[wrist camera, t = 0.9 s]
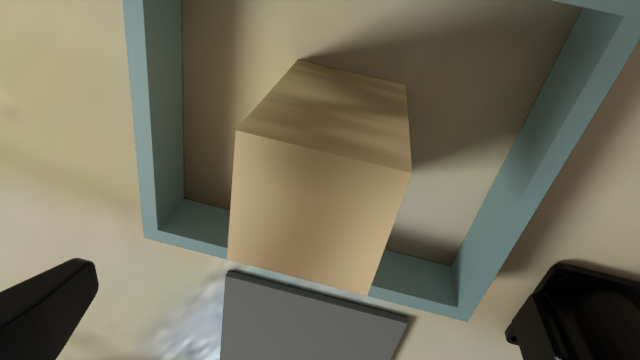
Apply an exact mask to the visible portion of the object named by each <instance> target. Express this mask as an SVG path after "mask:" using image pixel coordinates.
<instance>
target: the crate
mask: <svg viewBox="0 0 640 360" xmlns="http://www.w3.org/2000/svg"><path fill="white" fill-rule="evenodd" d="M552 1H557V2H561V3H566V4H571V5H575V6H580V7H583V9H582V11H581V13H580V15H579V17H578V18H577V20H576V22H575V24H574V26H573V28H572V30H571V32H570V34H569V36H568V38H567V40H566V42H565V44H564V46H563V48H562V50H561V52H560V54H559V56H558V58H557V60H556V62H555V63H554V65H553V67H552V69H551V71H550V73H549V75H548V77H547V79H546V81H545V83H544V85H543V87H542V89H541V91H540V93H539V95H538V97H537V99H536V101H535V103H534V105H533V107H532V108H531V110H530V112H529V114H528V116H527V118H526V120H525V122H524V124H523V126H522V128H521V130H520V132H519V134H518V136H517V138H516V140H515V142H514V144H513V146H512V148H511V150H510V152H509V153H508V155H507V157H506V159H505V161H504V163H503V165H502V167H501V169H500V171H499V173H498V175H497V177H496V179H495V181H494V183H493V185H492V187H491V189H490V191H489V193H488V195H487V197H486V198H485V200H484V202H483V204H482V206H481V208H480V210H479V212H478V214H477V216H476V218H475V220H474V222H473V224H472V226H471V228H470V230H469V232H468V234H467V236H466V238H465V240H464V242H463V243H462V245H461V247H460V249H459V251H458V253H457V255H456V257H455V259H454V261H453V263H452V265H451V266H448V265H444V264H440V263H436V262H432V261H428V260H424V259H420V258H416V257H412V256H408V255H404V254H400V253H396V252H392V251H388V250H385V249H384V252H383V254H382V257H381V260H380V263H379V265H378V268H377V271H376V273H375V276H374V279H373V282H372V284H371V287H370V290H369V293H368V295H367V296H370V297H374V298H378V299H382V300H385V301H389V302H393V303H397V304H401V305H405V306H408V307H412V308H416V309H420V310H424V311H428V312H431V313H435V314H439V315H443V316H447V317H451V318H455V319H458V320H462V321H466V322H468V320H469V319H470V317H471V315H472V314H473V312H474V310H475V309H476V307H477V305H478V304H479V302H480V301H481V299H482V297H483V296H484V294H485V292H486V291H487V289H488V287H489V286H490V284H491V283H492V281H493V279H494V278H495V276H496V274H497V273H498V271H499V269H500V268H501V266H502V265H503V263H504V261H505V260H506V258H507V256H508V255H509V253H510V251H511V250H512V248H513V247H514V245H515V243H516V242H517V240H518V238H519V237H520V235H521V233H522V232H523V230H524V229H525V227H526V225H527V224H528V222H529V220H530V219H531V217H532V215H533V214H534V212H535V211H536V209H537V207H538V206H539V204H540V202H541V201H542V199H543V197H544V196H545V194H546V193H547V191H548V189H549V188H550V186H551V184H552V183H553V181H554V179H555V178H556V176H557V175H558V173H559V171H560V170H561V168H562V166H563V165H564V163H565V161H566V160H567V158H568V157H569V155H570V153H571V152H572V150H573V148H574V147H575V145H576V143H577V142H578V140H579V139H580V137H581V135H582V134H583V132H584V130H585V129H586V127H587V125H588V124H589V122H590V121H591V119H592V117H593V116H594V114H595V112H596V111H597V109H598V107H599V106H600V104H601V103H602V101H603V99H604V98H605V96H606V94H607V93H608V91H609V89H610V88H611V86H612V85H613V83H614V81H615V80H616V78H617V76H618V75H619V73H620V71H621V70H622V68H623V67H624V65H625V63H626V62H627V60H628V58H629V57H630V55H631V53H632V52H633V50H634V49H635V47H636V45H637V44H638V42H639V40H640V0H552ZM123 10H124V21H125V32H126V43H127V54H128V66H129V77H130V88H131V99H132V110H133V121H134V132H135V143H136V154H137V165H138V176H139V187H140V198H141V209H142V220H143V231H144V238H147V239H151V240H155V241H159V242H162V243H166V244H170V245H174V246H178V247H182V248H185V249H189V250H193V251H197V252H201V253H205V254H209V255H212V256H216V257H220V258H224V259H227V250H228V235H229V221H230V210H227V209H223V208H219V207H215V206H211V205H207V204H203V203H199V202H195V201H191V200H188V199H184V161H183V92H182V23H181V0H123ZM235 262H236V261H235Z"/></svg>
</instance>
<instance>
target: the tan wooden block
mask: <svg viewBox="0 0 640 360" xmlns="http://www.w3.org/2000/svg"><path fill="white" fill-rule="evenodd" d="M411 175H412V163H411V149H410V135H409V121H408V106H407V92H406V85H404V84H400V83H395V82H391V81H387V80H383V79H378V78H374V77H370V76H365V75H361V74H357V73H352V72H348V71H344V70H340V69H335V68H331V67H327V66H322V65H318V64H314V63H310V62H305V61H301V60H297V61H296V62H295V64H294V65H293V66H292V67H291V68H290V69H289V70H288V72H287V73H286V74H285V75H284V76H283V77H282V78H281V79H280V81H279V82H278V83H277V84H276V85H275V86H274V87H273V89H272V90H271V91H270V92H269V93H268V94H267V95H266V96H265V98H264V99H263V100H262V101H261V102H260V103H259V104H258V106H257V107H256V108H255V109H254V110H253V111H252V112H251V114H250V115H249V116H248V117H247V118H246V119H245V120H244V121H243V123H242V124H241V125H240V126H239V127H238V128H237V129H236V133H235V148H234V162H233V177H232V191H231V206H230V221H229V235H228V250H227V259H228V260H232V261H236V262H239V263H243V264H247V265H251V266H255V267H259V268H262V269H266V270H270V271H274V272H278V273H282V274H285V275H289V276H293V277H297V278H301V279H305V280H308V281H312V282H316V283H320V284H324V285H328V286H331V287H335V288H339V289H343V290H347V291H351V292H354V293H358V294H362V295H366V296H367V295H368V293H369V290H370V287H371V284H372V282H373V279H374V276H375V273H376V271H377V268H378V265H379V263H380V260H381V257H382V254H383V252H384V249H385V246H386V244H387V241H388V238H389V235H390V233H391V230H392V227H393V224H394V222H395V219H396V216H397V214H398V211H399V208H400V205H401V203H402V200H403V197H404V194H405V192H406V189H407V186H408V184H409V181H410V178H411Z"/></svg>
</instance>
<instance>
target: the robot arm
mask: <svg viewBox="0 0 640 360" xmlns="http://www.w3.org/2000/svg"><path fill="white" fill-rule="evenodd" d="M561 272H563V273H561ZM559 273H561V274H559ZM98 286H99V284H98V279H97V274H96V269H95V265H94V263H93V262H91V261H88V260H84V259H81V258H74V259H71V260H69V261H67V262H64V263H62V264H60V265H58V266H56V267H54V268H51V269H49V270H47V271H45V272H43V273H41V274H38V275H36V276H34V277H32V278H30V279H28V280H25V281H23V282H21V283H19V284H17V285H15V286H13V287H10V288H8V289H6V290H4V291H2V292H0V360H56V358H57V357H58V355H59V354H60V352H61V351H62V349H63V348H64V346H65V345H66V343H67V341H68V340H69V338H70V337H71V335H72V333H73V332H74V330H75V328H76V327H77V325H78V323H79V322H80V320H81V319H82V317H83V315H84V314H85V312H86V310H87V309H88V307H89V305H90V304H91V302H92V301H93V299H94V297H95V296H96V294H97V291H98ZM505 336H506V339H507V341H508V342H509V343H511V344H515V345H518V346H519V347H520V350H521V354H522V357H523V360H640V283H639V282H635V281H631V280H627V279H623V278H619V277H615V276H611V275H607V274H603V273H599V272H595V271H591V270H587V269H583V268H579V267H575V266H571V265H567V264H561V263H560V264H555V265H553V266H552V267H551V268H550V269H549V270H548V272H547V273H546V275H545V276H544V278H543V279H542V280H541V282H540V283H539V285H538V286H537V287H536V289H535V290H534V292H533V293H532V294H531V295H530V296H529V297H528V299H527V300H526V302H525V303H524V304H523V306H522V307H521V309H520V310H519V311H518V313H517V314H516V316H515V317H514V318H513V320H512V323H511V324H510V325H509V327H508V328H507V330H506V331H505Z"/></svg>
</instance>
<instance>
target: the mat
mask: <svg viewBox="0 0 640 360" xmlns="http://www.w3.org/2000/svg"><path fill="white" fill-rule="evenodd" d="M407 324H408V319H407V317H404V316H401V315H397V314H393V313H389V312H385V311H381V310H378V309H374V308H370V307H366V306H362V305H359V304H355V303H351V302H347V301H343V300H339V299H336V298H332V297H328V296H324V295H320V294H316V293H313V292H309V291H305V290H301V289H297V288H294V287H290V286H286V285H282V284H278V283H274V282H271V281H267V280H263V279H259V278H255V277H251V276H248V275H244V274H240V273H236V272H232V271H229V270H228V272H227V274H226V277H225V292H224V307H223V322H222V337H221V352H220V360H390V359H391V357H392V355H393V353H394V351H395V349H396V347H397V345H398V343H399V341H400V339H401V336H402V334H403V332H404V330H405V328H406V326H407Z"/></svg>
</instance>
